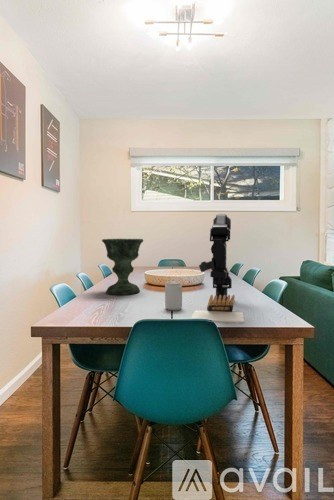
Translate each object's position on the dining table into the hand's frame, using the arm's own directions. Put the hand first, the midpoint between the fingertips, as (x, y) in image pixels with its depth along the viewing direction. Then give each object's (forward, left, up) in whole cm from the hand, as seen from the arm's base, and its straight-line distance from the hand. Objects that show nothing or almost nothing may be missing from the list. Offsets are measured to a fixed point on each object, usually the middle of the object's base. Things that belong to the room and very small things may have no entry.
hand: (219, 291), depth 141 cm
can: (-2, -20, -9) cm, 22 cm away
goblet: (-35, -55, -9) cm, 66 cm away
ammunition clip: (-1, 0, -8) cm, 8 cm away
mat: (+8, 0, -9) cm, 12 cm away
